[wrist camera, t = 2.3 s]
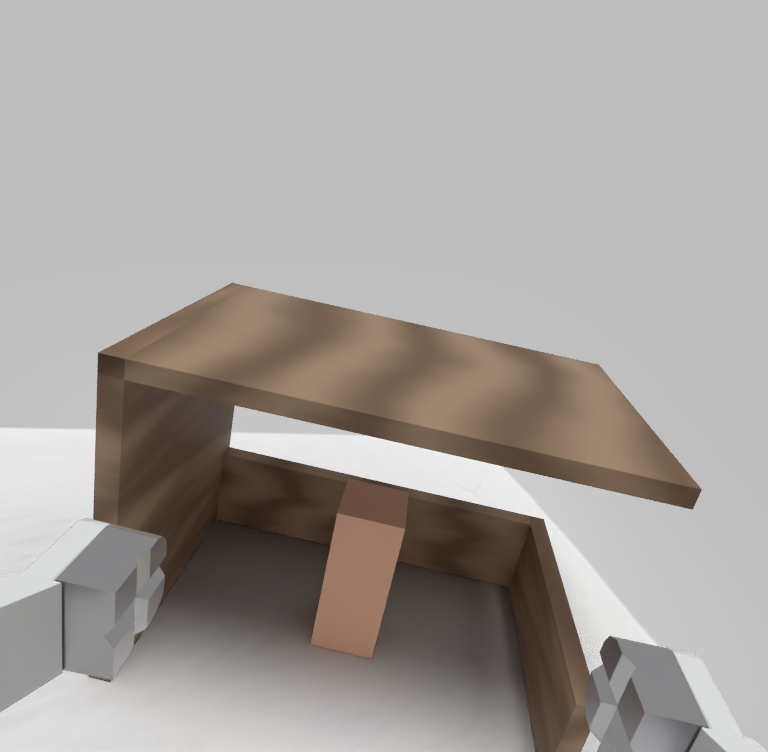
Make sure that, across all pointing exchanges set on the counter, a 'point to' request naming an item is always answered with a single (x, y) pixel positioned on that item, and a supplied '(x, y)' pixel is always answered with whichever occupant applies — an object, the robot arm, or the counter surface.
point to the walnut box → (377, 419)
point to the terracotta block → (360, 567)
